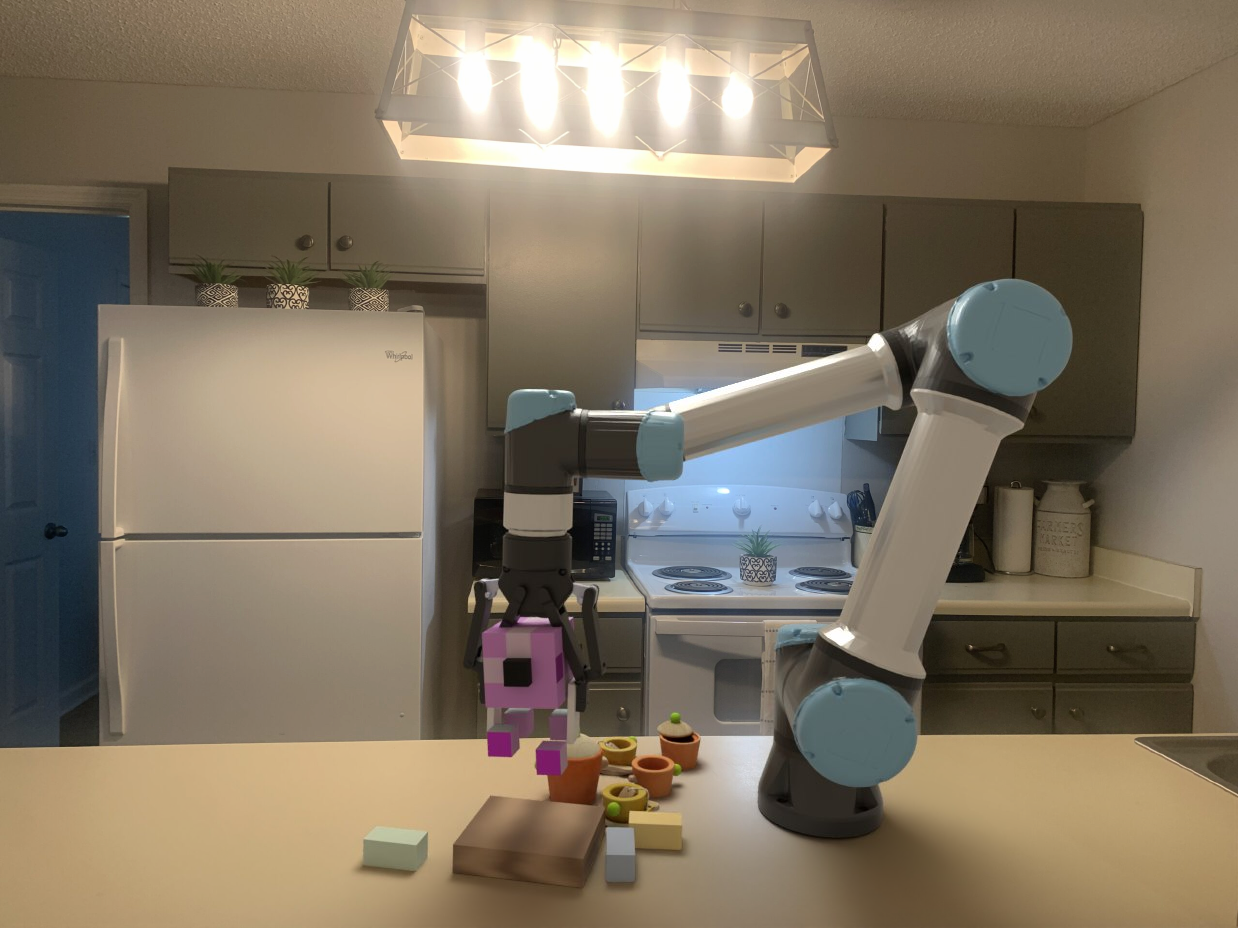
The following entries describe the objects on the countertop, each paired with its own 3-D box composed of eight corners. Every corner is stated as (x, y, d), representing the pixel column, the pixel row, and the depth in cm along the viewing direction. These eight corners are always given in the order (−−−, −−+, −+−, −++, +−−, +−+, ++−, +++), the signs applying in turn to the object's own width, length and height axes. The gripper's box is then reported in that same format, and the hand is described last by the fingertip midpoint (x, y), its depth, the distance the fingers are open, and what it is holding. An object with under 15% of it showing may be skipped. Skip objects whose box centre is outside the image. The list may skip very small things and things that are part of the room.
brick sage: (427, 858, 89) (427, 831, 89) (416, 872, 86) (416, 844, 86) (376, 852, 90) (376, 825, 90) (363, 866, 88) (363, 838, 87)
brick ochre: (680, 838, 95) (681, 812, 95) (681, 851, 92) (682, 825, 92) (629, 836, 95) (629, 810, 95) (628, 849, 92) (628, 822, 92)
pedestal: (605, 832, 96) (605, 806, 96) (582, 887, 84) (583, 858, 84) (490, 819, 98) (490, 795, 98) (452, 872, 86) (452, 844, 86)
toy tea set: (636, 843, 94) (638, 760, 94) (522, 812, 101) (524, 734, 101) (716, 764, 117) (718, 697, 117) (619, 743, 124) (621, 680, 124)
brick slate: (605, 853, 91) (606, 826, 91) (632, 853, 91) (633, 827, 91) (605, 882, 85) (606, 854, 85) (634, 883, 85) (635, 855, 85)
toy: (557, 780, 84) (550, 635, 84) (484, 777, 86) (477, 635, 86) (582, 743, 95) (576, 614, 95) (516, 741, 97) (510, 614, 96)
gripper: (638, 531, 92) (632, 732, 92) (458, 523, 95) (454, 716, 96) (627, 540, 84) (621, 758, 85) (432, 530, 88) (429, 739, 89)
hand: (533, 735), depth 91 cm, fingers closed on toy, 8 cm apart
